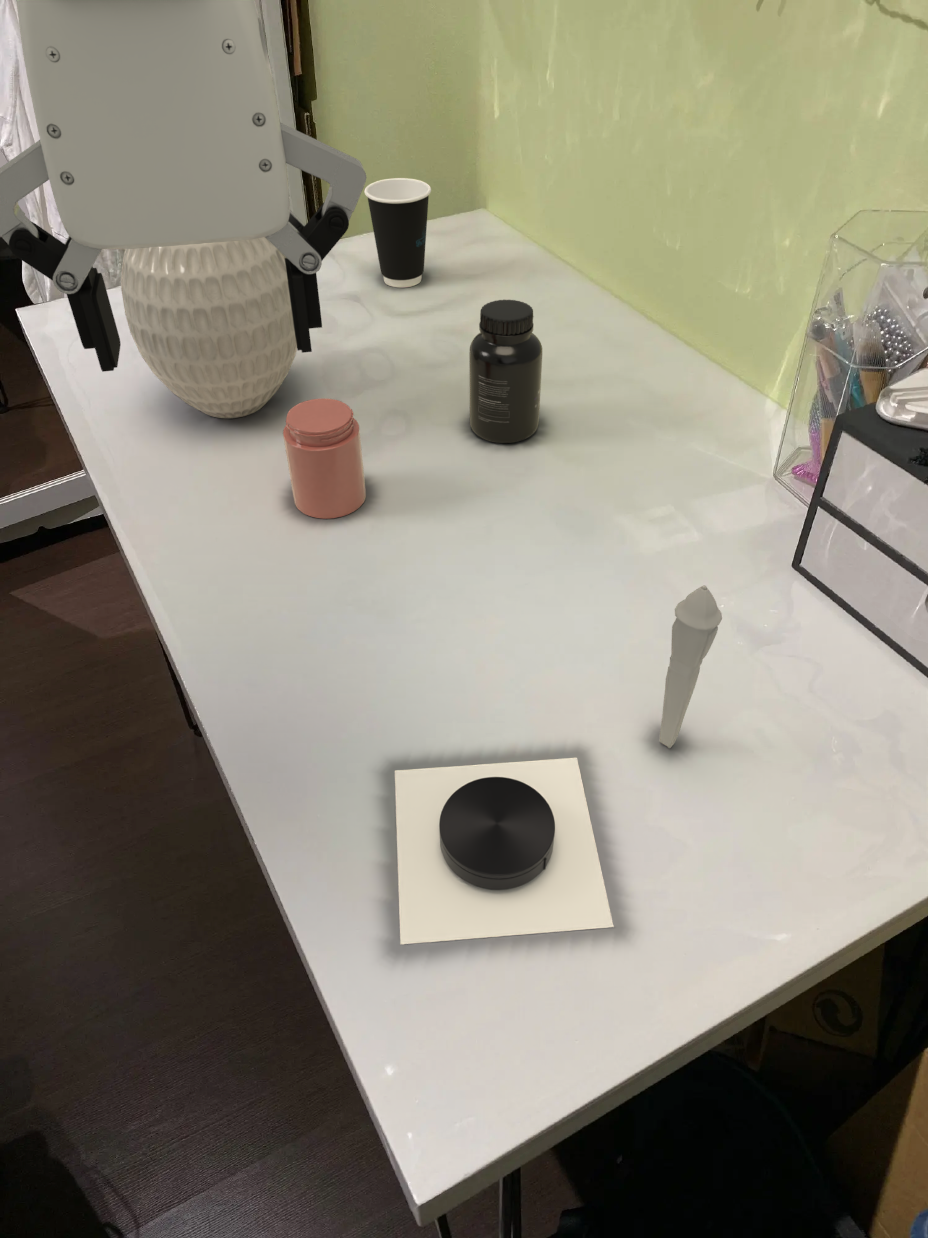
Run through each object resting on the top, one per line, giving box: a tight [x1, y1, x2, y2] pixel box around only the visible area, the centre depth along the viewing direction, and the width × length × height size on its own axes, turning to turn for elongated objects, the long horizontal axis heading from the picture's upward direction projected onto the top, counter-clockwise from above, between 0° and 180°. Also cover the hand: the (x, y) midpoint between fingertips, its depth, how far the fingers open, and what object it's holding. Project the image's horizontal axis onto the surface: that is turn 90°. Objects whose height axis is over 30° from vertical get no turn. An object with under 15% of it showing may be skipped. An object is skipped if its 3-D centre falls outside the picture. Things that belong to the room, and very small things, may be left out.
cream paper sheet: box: [394, 757, 615, 945], centre depth 55 cm, size 12×12×2 cm
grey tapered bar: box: [659, 585, 723, 749], centre depth 56 cm, size 2×3×14 cm
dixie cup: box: [364, 177, 432, 289], centre depth 112 cm, size 8×8×11 cm
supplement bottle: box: [468, 299, 543, 444], centre depth 85 cm, size 7×7×12 cm
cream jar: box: [282, 397, 367, 520], centre depth 78 cm, size 6×6×8 cm
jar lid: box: [439, 777, 555, 890], centre depth 54 cm, size 7×7×2 cm
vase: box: [120, 237, 298, 419], centre depth 86 cm, size 16×16×22 cm
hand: (209, 349), depth 47 cm, fingers open, 9 cm apart
